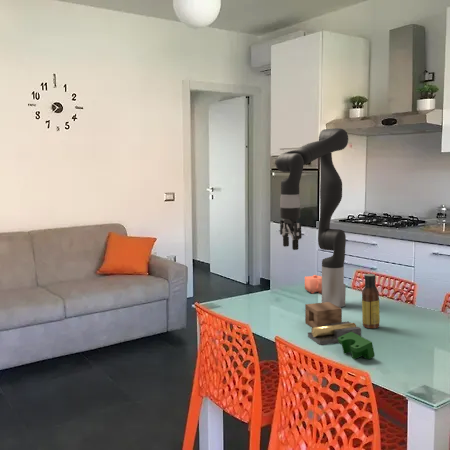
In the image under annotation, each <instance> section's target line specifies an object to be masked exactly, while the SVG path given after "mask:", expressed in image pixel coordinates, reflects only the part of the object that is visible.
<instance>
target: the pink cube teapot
mask: <svg viewBox="0 0 450 450" xmlns="http://www.w3.org/2000/svg"><path fill="white" fill-rule="evenodd" d="M304 290H306V291H307V292H309V293H311V294H312V295H313V294H315V293H316V292H318V293H319V294H322V275H317V274H313V275H310V276H309V275H308V276H307V275H306V276H304Z"/></svg>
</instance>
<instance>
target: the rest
mask: <svg viewBox="0 0 450 450" xmlns="http://www.w3.org/2000/svg"><path fill="white" fill-rule="evenodd" d="M348 323H351V322H350V321H342V322H339V323H330V324H325V326H331V325H339V324H348ZM349 332H353V333H355V334H357V335H359V336H361V337H362V328H361V327H360V326H357V327H351V328H343V329H335V330H334V335H326V336H318V337H313V335H312V332H311V331H310V332H307V337H308V338H309V339H311V341H313V342H315V344H316V343H317V345H319V346H322V345H331V344H332V345H333V344H340V343H339V342H338V337H340V336H342V335H345V334H347V333H349Z"/></svg>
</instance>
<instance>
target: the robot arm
mask: <svg viewBox="0 0 450 450" xmlns="http://www.w3.org/2000/svg"><path fill="white" fill-rule="evenodd" d="M348 143H349V134H348V132H347V131H346V130H345V129H344V128H340V127H339V128H338V127H337V128H326V129H322V130H321V131H320V133H319V136H318V140H317V141H312V142H308V143H306V144H303V145H302V146H299V147H298V148H296V149H293V150H289V151H284V152H283V153H281V154H280V155H278V157H276V159H275V167H276V169H277V170H278V171H280V172H282V173H289V175H288V177H286V178H283V179H281V181H280V200H279V201H280V202H279V203H280V204H279V205H280V217H279V218H280V222H279V234H280V235H281V237H282V246H283V247H285V248H287V247H289V246H290V236H291V239H292V240H291V243H292V247H291V249H292V250H293V251H298V250H299V240H301V239H302V236H303V235H302V223H301V222H298V219H300V218H301V198H300V184H301V183H300V182H301V179H302V175H303V170H304V166H305V165H307V164H310V163H312V162H314V161H315V160H318V159H319V167H320V170H319V171H320V176H319V177H320V178H319V179H320V181H319V222H318V233H317V242H318V243H317V244H318V247H319V248H320V250H324V251H332V253H333V254H332V255H331V256H329V257H325V258H323V259H321V277H322V293H321V303H324V302H330V303H332V304H334V305H336V306H338V307H340V308H343V307H346V296H347V295H346V292H347V291H346V290H347V289H346V284H345V283H344V280H345V279H344V278H345V257H346V245H347V241H346V240H347V236H346V233H345V232H346V231H344V230H343V229H338V228H337V229H336V228H330V227H331V219H332V216H333V214H334V213H335V211H336V209H337V208H338V207H339V205H340V203H341V201H342V198H343V182H342V181H343V180H342V179H341V176H340V174H339V173H338V171H337V169H336V168H335V165H334V162H333V154H332V153H334V152H338V151H339V152H340V151H343V150H345V149H346V147H347V146H348Z"/></svg>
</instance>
